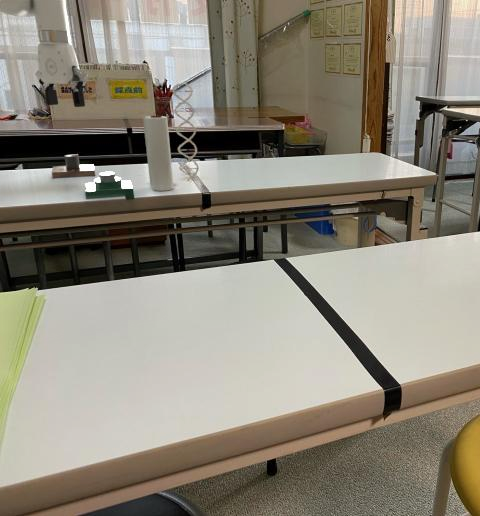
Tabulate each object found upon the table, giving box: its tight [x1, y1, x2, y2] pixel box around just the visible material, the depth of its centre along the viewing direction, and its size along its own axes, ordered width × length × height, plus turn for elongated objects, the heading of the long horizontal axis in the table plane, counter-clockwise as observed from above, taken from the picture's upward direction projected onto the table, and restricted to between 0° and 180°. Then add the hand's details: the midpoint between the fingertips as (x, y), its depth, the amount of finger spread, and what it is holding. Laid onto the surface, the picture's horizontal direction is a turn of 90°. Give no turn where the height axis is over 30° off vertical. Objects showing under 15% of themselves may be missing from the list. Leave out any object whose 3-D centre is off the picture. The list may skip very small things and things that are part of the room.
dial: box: [64, 153, 81, 169], centre depth 165 cm, size 4×4×4 cm
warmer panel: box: [51, 163, 96, 179], centre depth 166 cm, size 12×10×3 cm
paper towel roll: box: [142, 115, 175, 192], centre depth 152 cm, size 7×6×21 cm
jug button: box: [98, 171, 116, 181], centre depth 143 cm, size 4×4×2 cm
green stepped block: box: [84, 176, 135, 201], centre depth 144 cm, size 12×10×5 cm
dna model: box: [171, 82, 200, 182], centre depth 164 cm, size 7×6×30 cm
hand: (66, 105), depth 143 cm, fingers open, 9 cm apart
